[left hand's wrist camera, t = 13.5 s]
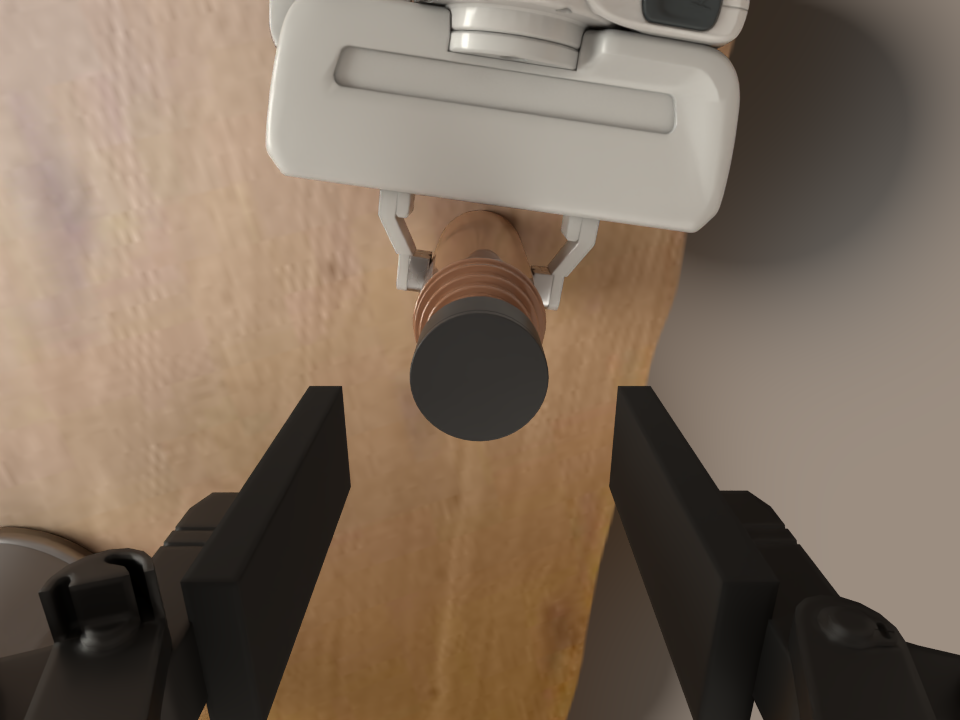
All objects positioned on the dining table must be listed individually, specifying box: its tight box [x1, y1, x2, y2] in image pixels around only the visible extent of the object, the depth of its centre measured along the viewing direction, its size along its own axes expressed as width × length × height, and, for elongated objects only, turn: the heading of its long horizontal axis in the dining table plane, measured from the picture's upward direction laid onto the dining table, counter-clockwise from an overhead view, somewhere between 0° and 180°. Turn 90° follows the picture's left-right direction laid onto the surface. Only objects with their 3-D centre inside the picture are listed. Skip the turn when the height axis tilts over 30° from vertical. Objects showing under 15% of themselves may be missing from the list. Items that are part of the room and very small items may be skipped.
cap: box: [410, 296, 549, 441], centre depth 19 cm, size 4×4×2 cm
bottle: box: [413, 210, 546, 344], centre depth 27 cm, size 5×5×19 cm
